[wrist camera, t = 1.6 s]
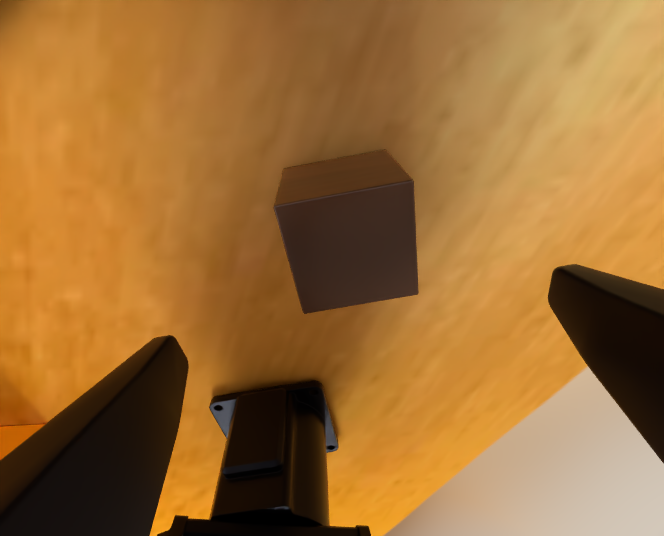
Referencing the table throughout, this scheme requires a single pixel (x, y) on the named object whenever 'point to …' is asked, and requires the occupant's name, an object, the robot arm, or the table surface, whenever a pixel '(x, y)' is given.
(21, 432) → the orange juice
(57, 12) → the table surface
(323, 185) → the block
